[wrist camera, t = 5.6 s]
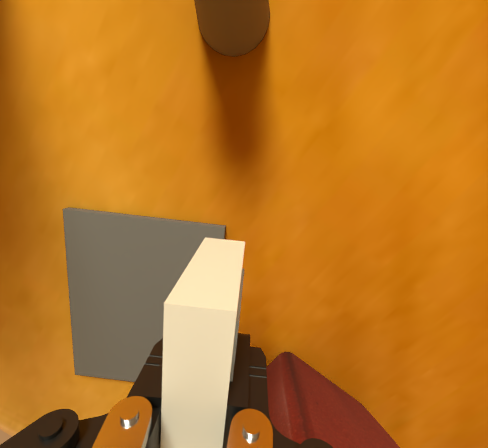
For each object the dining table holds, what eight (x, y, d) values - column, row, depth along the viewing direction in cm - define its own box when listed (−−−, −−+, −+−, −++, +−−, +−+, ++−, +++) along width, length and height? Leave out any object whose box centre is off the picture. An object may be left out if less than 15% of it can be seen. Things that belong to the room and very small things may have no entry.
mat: (68, 207, 26) (62, 208, 25) (225, 225, 26) (224, 227, 25) (79, 369, 31) (75, 374, 30) (210, 385, 31) (209, 391, 30)
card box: (205, 237, 13) (164, 303, 7) (247, 242, 13) (240, 311, 7) (195, 383, 15) (158, 524, 9) (231, 387, 15) (216, 531, 9)
